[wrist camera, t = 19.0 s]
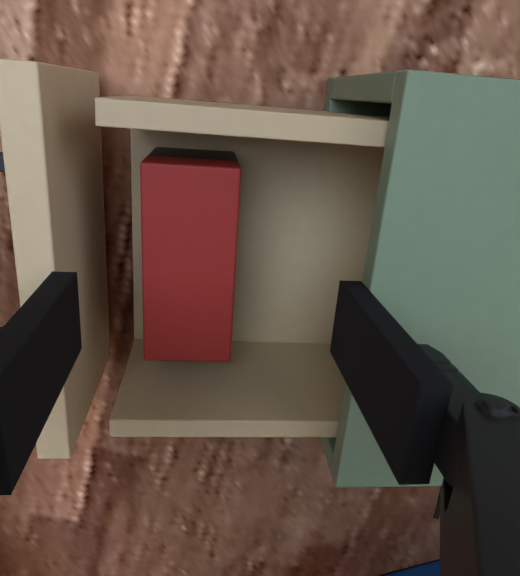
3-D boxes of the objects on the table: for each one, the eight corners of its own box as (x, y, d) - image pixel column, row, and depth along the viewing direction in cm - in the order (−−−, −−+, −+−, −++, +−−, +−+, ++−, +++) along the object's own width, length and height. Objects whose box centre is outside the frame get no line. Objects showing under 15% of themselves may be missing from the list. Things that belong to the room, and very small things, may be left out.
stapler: (226, 317, 24) (230, 371, 19) (156, 315, 24) (143, 370, 19) (234, 151, 21) (241, 168, 16) (155, 146, 21) (139, 161, 16)
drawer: (-42, 351, 25) (-148, 460, 17) (-93, 55, 20) (-272, 34, 12) (357, 359, 27) (411, 458, 20) (403, 98, 22) (498, 101, 15)
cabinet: (294, 358, 28) (335, 488, 19) (328, 78, 22) (408, 68, 13) (549, 364, 30) (699, 484, 21) (638, 105, 24) (894, 114, 15)
